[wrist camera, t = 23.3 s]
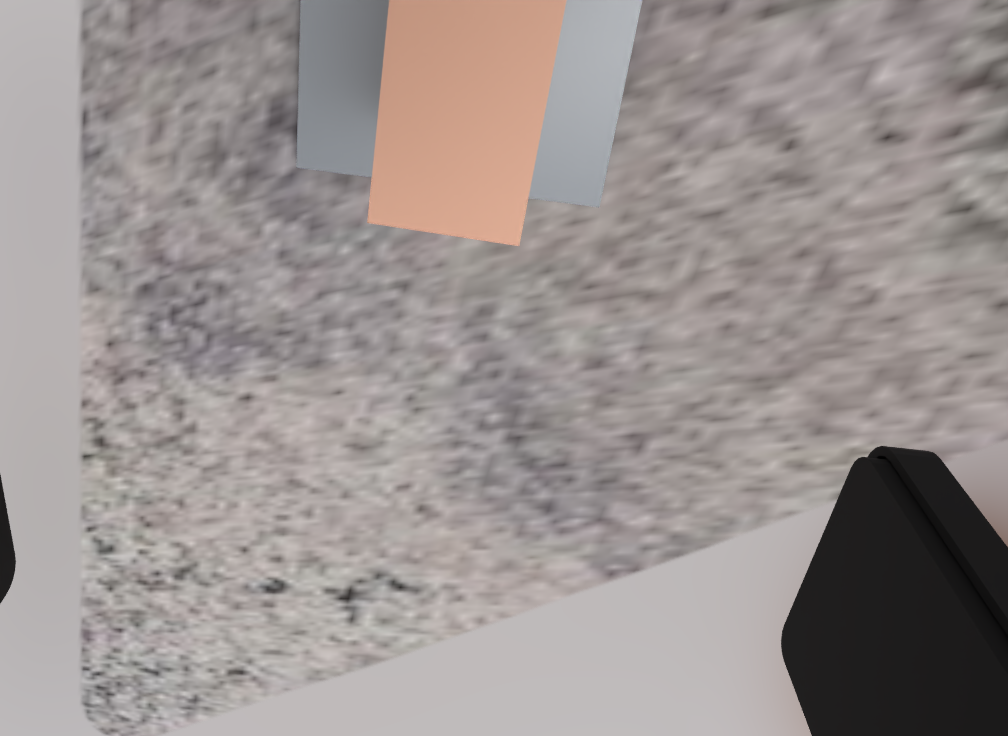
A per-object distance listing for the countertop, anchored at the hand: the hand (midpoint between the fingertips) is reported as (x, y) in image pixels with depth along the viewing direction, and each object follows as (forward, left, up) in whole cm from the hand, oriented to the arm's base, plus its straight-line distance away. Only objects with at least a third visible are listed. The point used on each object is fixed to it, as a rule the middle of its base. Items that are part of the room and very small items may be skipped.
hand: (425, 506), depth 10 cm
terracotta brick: (0, 0, -25) cm, 25 cm away
